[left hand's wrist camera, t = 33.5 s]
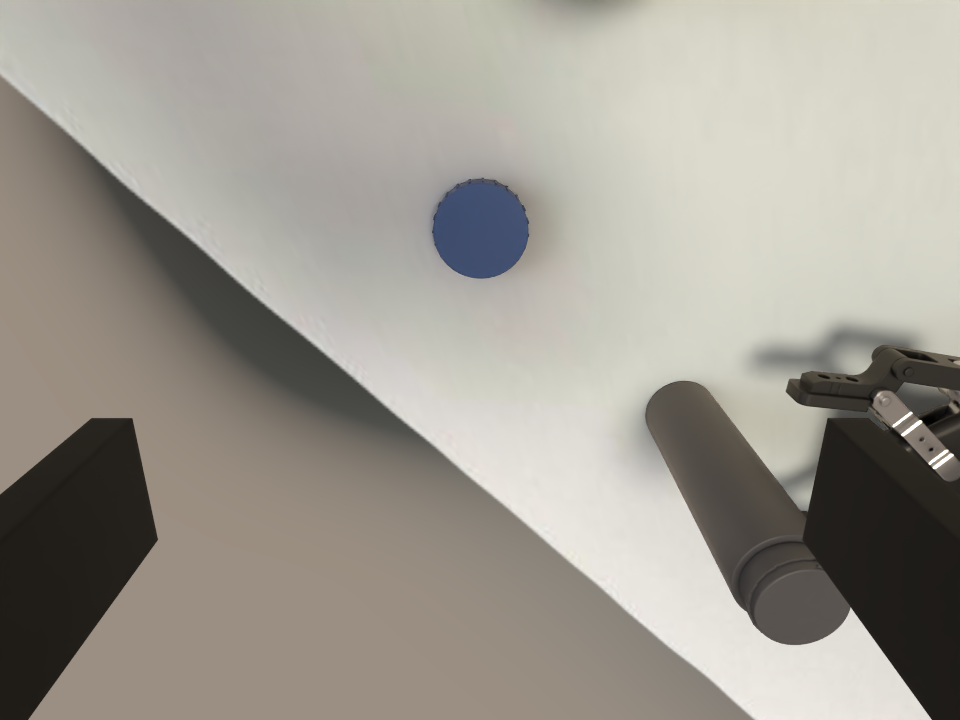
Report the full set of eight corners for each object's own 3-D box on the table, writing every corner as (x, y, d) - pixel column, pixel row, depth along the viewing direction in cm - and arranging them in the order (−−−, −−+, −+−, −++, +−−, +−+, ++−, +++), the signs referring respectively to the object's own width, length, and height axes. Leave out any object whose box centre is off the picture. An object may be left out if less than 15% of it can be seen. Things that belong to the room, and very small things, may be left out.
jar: (698, 450, 46) (827, 662, 29) (634, 433, 45) (728, 637, 28) (726, 391, 44) (880, 578, 27) (661, 372, 44) (777, 551, 27)
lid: (520, 170, 39) (522, 174, 37) (533, 263, 41) (535, 271, 39) (426, 186, 39) (423, 191, 37) (443, 277, 41) (442, 286, 39)
